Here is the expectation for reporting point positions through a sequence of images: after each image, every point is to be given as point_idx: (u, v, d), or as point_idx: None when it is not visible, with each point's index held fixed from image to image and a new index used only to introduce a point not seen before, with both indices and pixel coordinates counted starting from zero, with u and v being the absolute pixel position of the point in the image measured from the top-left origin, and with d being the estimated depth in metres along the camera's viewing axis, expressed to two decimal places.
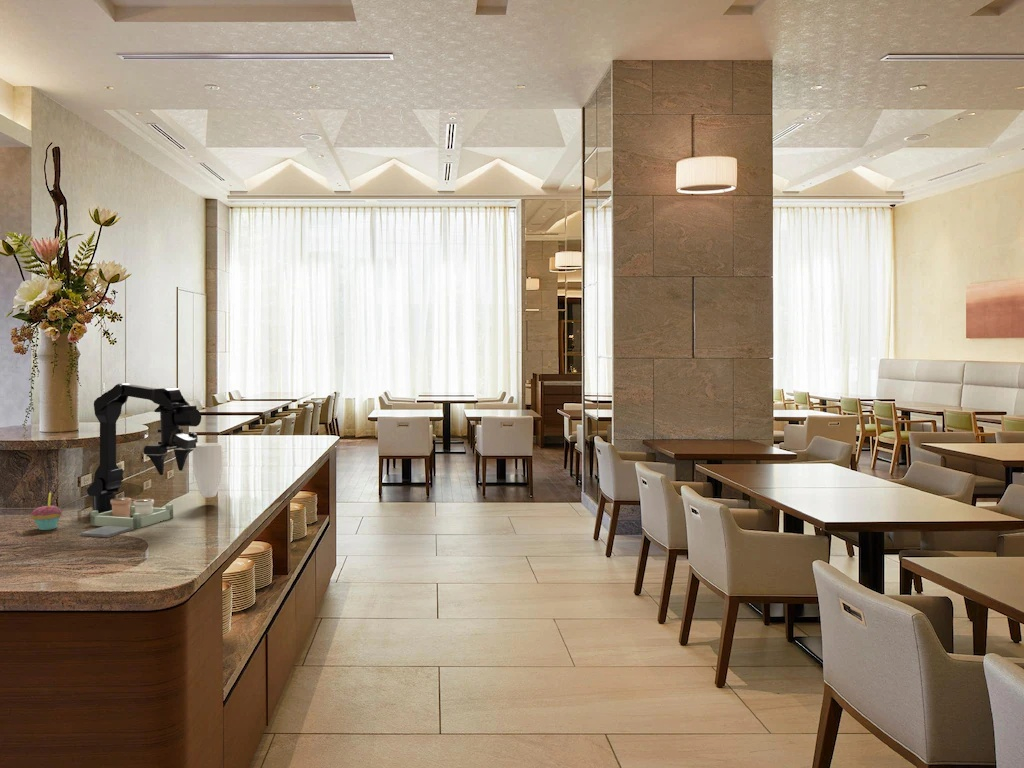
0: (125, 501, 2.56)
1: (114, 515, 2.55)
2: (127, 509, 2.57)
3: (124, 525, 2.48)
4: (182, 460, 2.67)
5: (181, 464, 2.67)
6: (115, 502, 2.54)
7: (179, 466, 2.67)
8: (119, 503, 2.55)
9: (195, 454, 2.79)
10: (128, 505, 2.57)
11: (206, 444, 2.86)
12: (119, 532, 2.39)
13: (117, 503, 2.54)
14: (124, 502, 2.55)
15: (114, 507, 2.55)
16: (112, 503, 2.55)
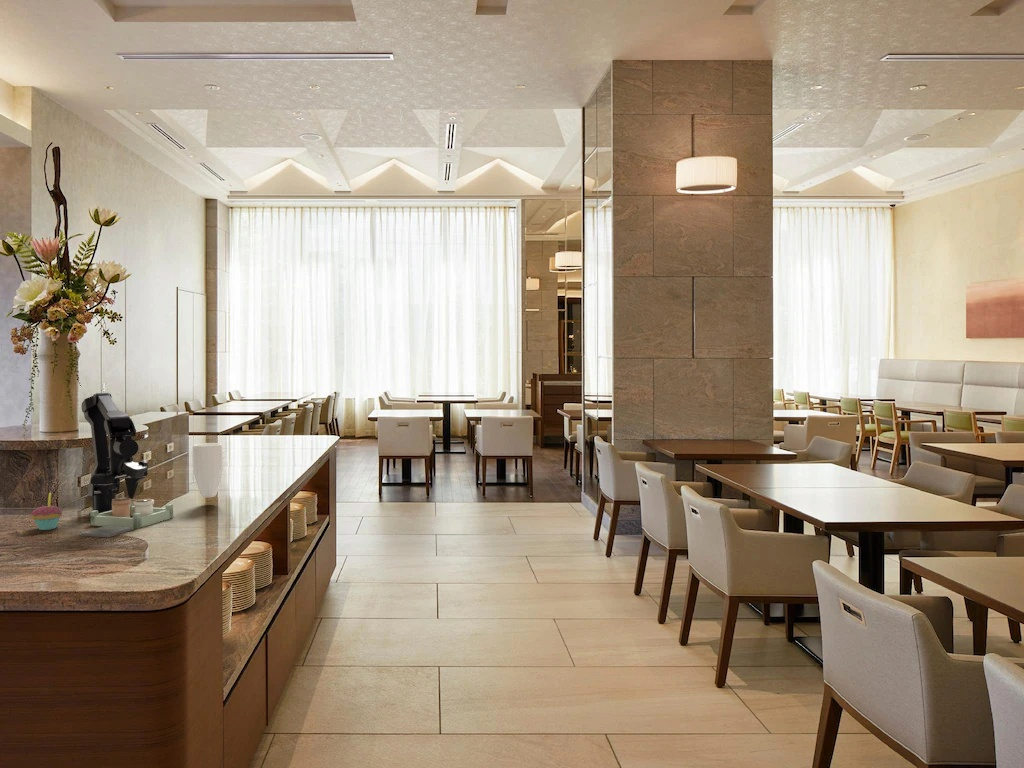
0: (125, 501, 2.56)
1: (114, 515, 2.55)
2: (127, 509, 2.57)
3: (124, 525, 2.48)
4: (133, 488, 2.62)
5: (132, 493, 2.62)
6: (115, 502, 2.54)
7: (130, 494, 2.62)
8: (119, 503, 2.55)
9: (195, 454, 2.79)
10: (128, 505, 2.57)
11: (206, 444, 2.86)
12: (119, 532, 2.39)
13: (117, 503, 2.54)
14: (124, 502, 2.55)
15: (114, 507, 2.55)
16: (112, 503, 2.55)
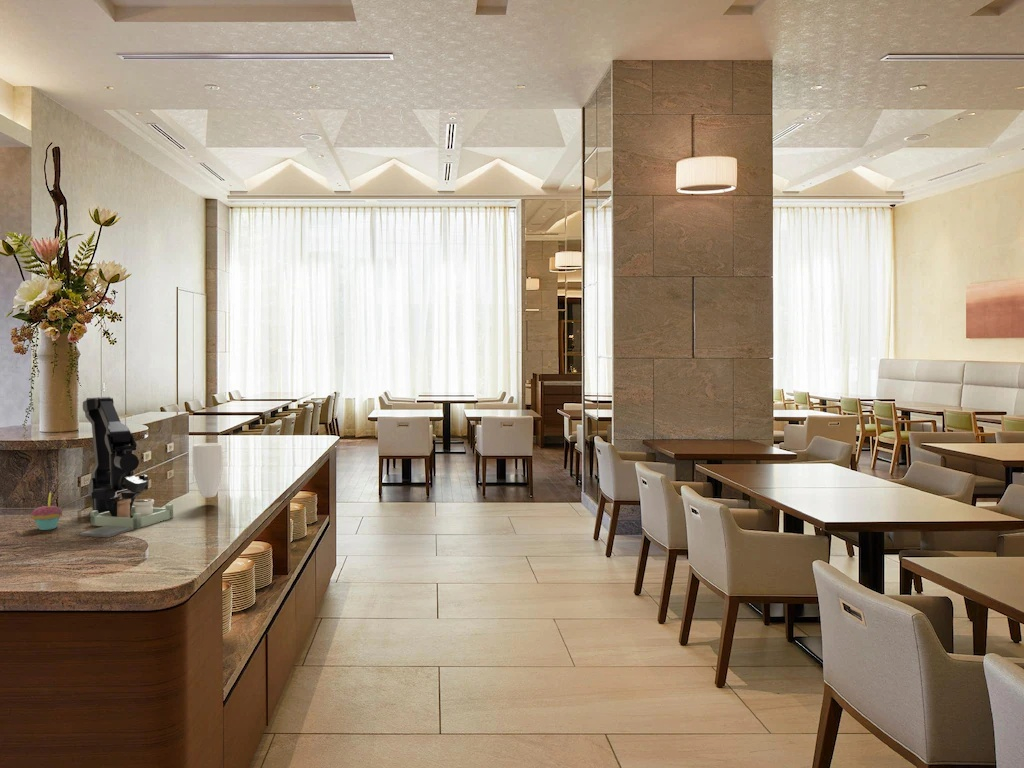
0: (125, 501, 2.56)
1: None
2: (127, 509, 2.57)
3: (124, 525, 2.48)
4: None
5: None
6: None
7: None
8: (119, 503, 2.55)
9: (195, 454, 2.79)
10: (128, 505, 2.57)
11: (206, 444, 2.86)
12: (119, 532, 2.39)
13: (117, 503, 2.54)
14: (124, 502, 2.55)
15: None
16: None
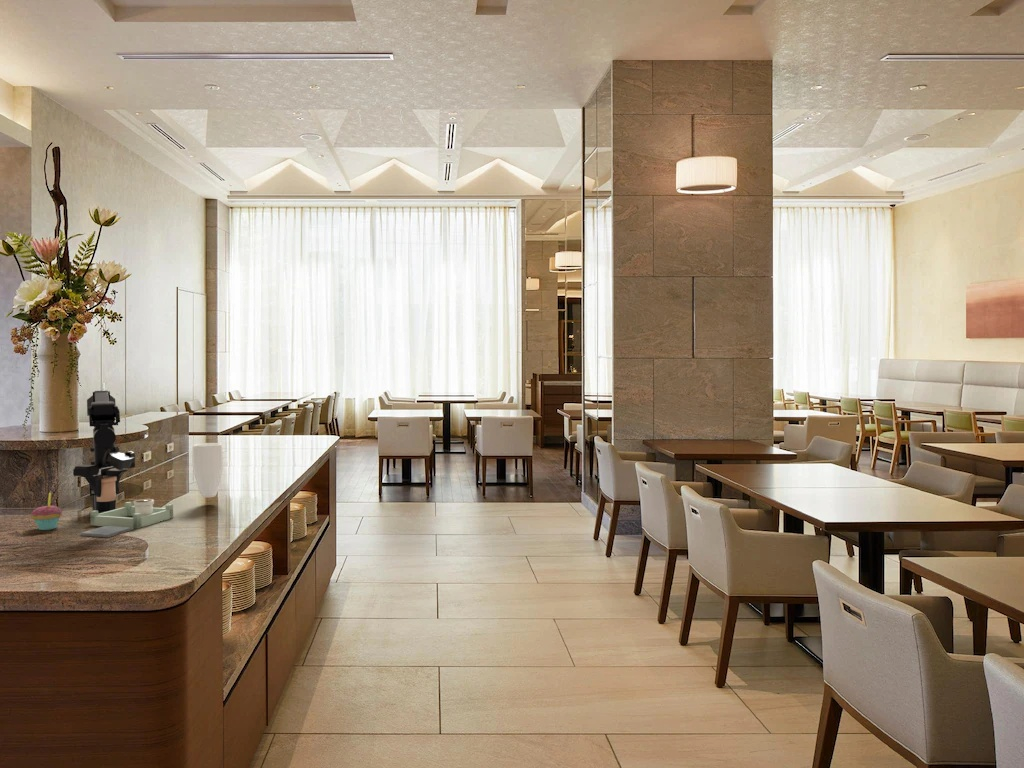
0: (110, 479, 2.38)
1: None
2: (112, 487, 2.39)
3: (124, 525, 2.48)
4: None
5: None
6: None
7: None
8: (104, 481, 2.37)
9: (195, 454, 2.79)
10: (113, 483, 2.40)
11: (206, 444, 2.86)
12: (119, 532, 2.39)
13: (101, 481, 2.37)
14: (109, 480, 2.38)
15: None
16: None
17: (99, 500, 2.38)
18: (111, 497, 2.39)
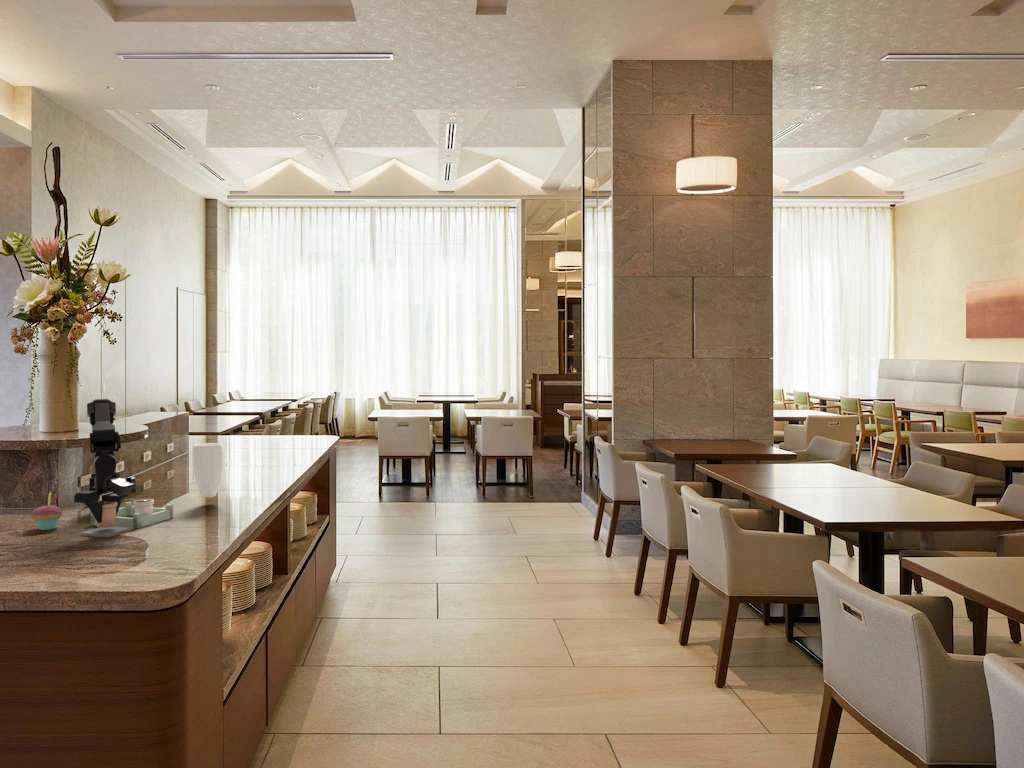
0: (111, 505, 2.39)
1: None
2: (113, 513, 2.40)
3: (124, 525, 2.48)
4: None
5: None
6: None
7: None
8: (104, 507, 2.38)
9: (195, 454, 2.79)
10: (114, 509, 2.40)
11: (206, 444, 2.86)
12: (119, 532, 2.39)
13: (102, 507, 2.38)
14: (110, 506, 2.38)
15: None
16: None
17: (100, 525, 2.38)
18: (111, 523, 2.39)
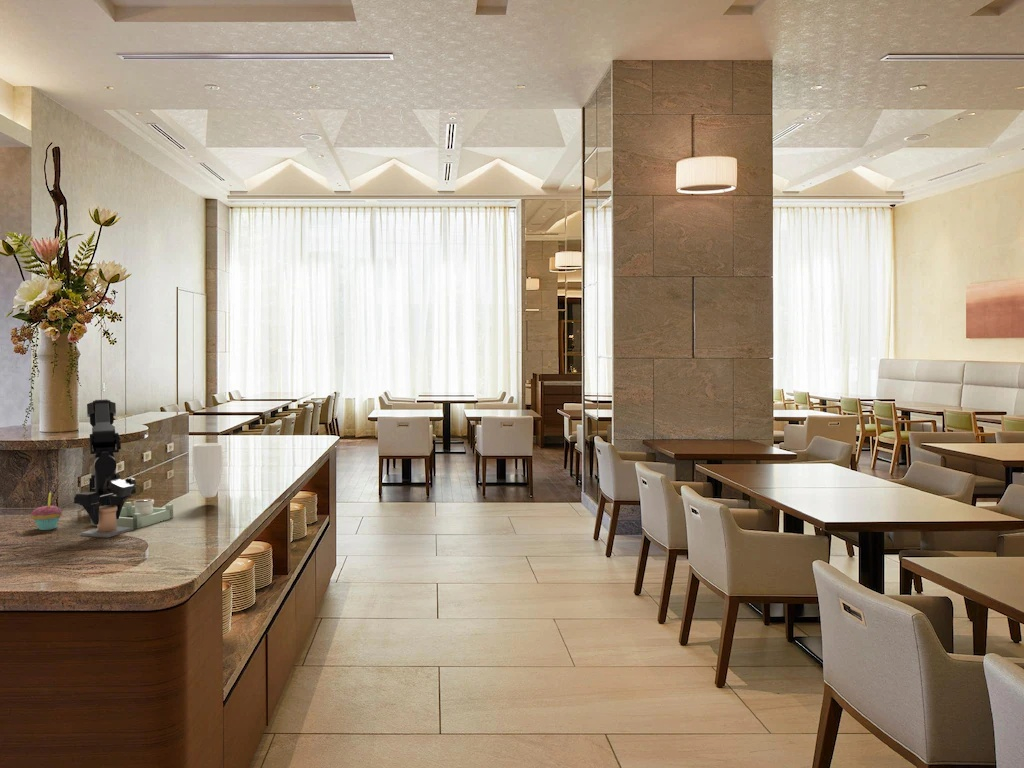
0: (111, 509, 2.39)
1: (99, 524, 2.38)
2: (113, 517, 2.40)
3: (124, 525, 2.48)
4: (118, 508, 2.44)
5: (117, 512, 2.44)
6: (100, 510, 2.38)
7: None
8: (104, 511, 2.38)
9: (195, 454, 2.79)
10: (114, 513, 2.40)
11: (206, 444, 2.86)
12: (119, 532, 2.39)
13: (102, 511, 2.38)
14: (110, 510, 2.39)
15: (99, 515, 2.38)
16: None
17: (100, 530, 2.38)
18: (111, 527, 2.39)
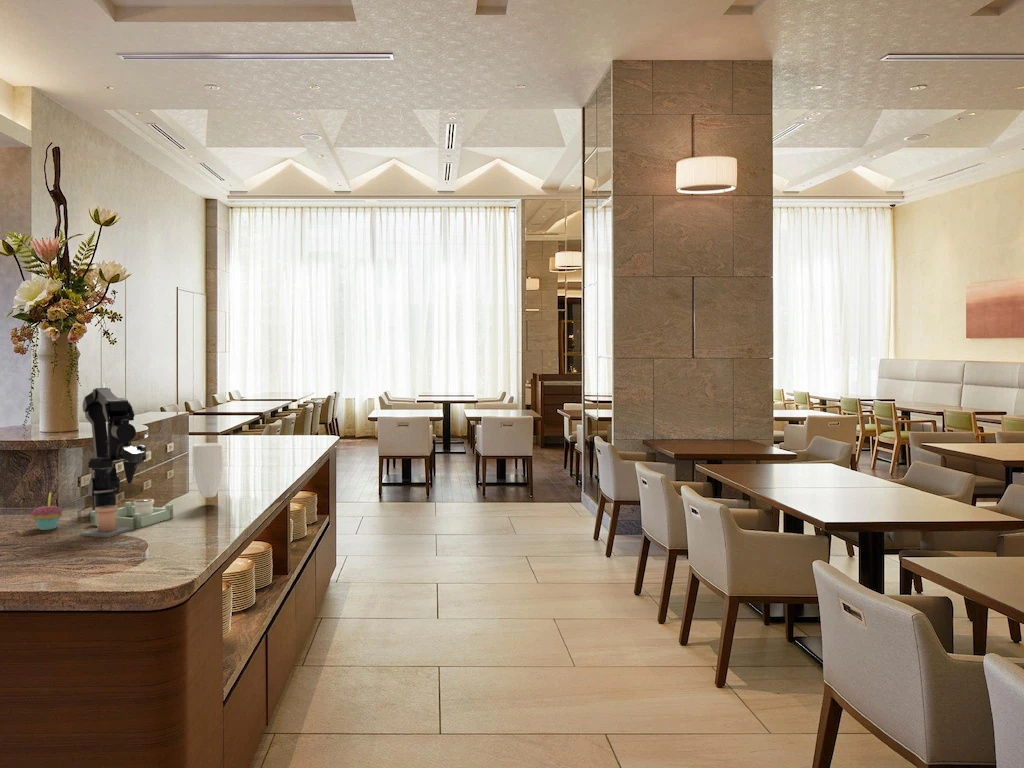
0: (111, 509, 2.39)
1: (99, 524, 2.38)
2: (113, 517, 2.40)
3: (124, 525, 2.48)
4: (131, 473, 2.61)
5: (130, 477, 2.61)
6: (100, 510, 2.38)
7: (128, 478, 2.61)
8: (104, 511, 2.38)
9: (195, 454, 2.78)
10: (114, 513, 2.41)
11: (206, 444, 2.86)
12: (119, 532, 2.39)
13: (102, 511, 2.38)
14: (110, 510, 2.39)
15: (99, 515, 2.38)
16: (97, 511, 2.38)
17: (100, 530, 2.38)
18: (112, 527, 2.40)
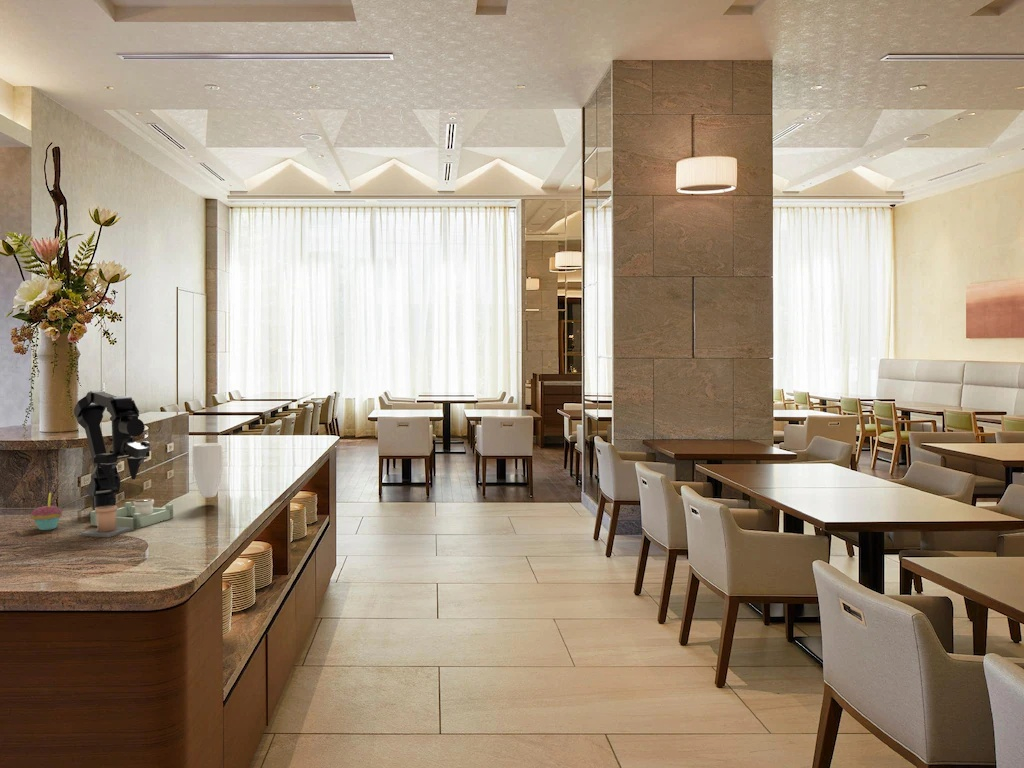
0: (111, 509, 2.39)
1: (99, 524, 2.38)
2: (113, 517, 2.40)
3: (124, 525, 2.48)
4: (135, 469, 2.66)
5: (134, 473, 2.66)
6: (100, 510, 2.38)
7: (132, 474, 2.66)
8: (104, 511, 2.38)
9: (195, 454, 2.79)
10: (114, 513, 2.41)
11: (206, 444, 2.86)
12: (119, 532, 2.39)
13: (102, 511, 2.38)
14: (110, 510, 2.39)
15: (99, 515, 2.38)
16: (97, 511, 2.38)
17: (100, 530, 2.38)
18: (112, 527, 2.40)
